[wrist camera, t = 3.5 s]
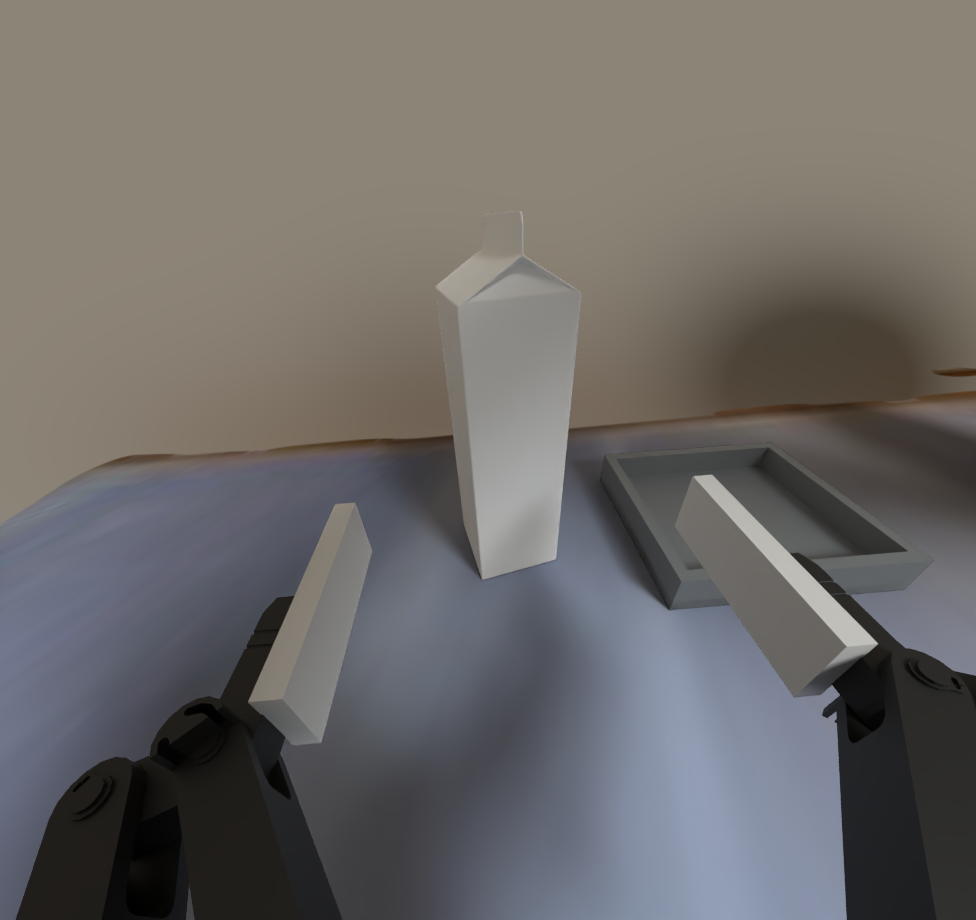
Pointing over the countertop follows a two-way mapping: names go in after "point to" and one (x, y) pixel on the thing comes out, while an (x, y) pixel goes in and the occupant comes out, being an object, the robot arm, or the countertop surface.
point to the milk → (509, 395)
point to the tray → (770, 500)
